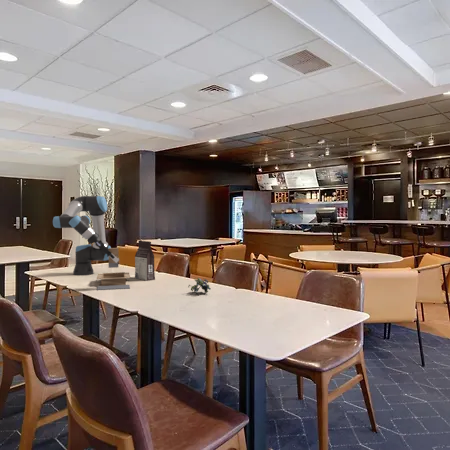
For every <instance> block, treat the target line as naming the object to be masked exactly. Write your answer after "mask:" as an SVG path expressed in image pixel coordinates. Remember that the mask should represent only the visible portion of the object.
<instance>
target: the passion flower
mask: <svg viewBox="0 0 450 450" xmlns="http://www.w3.org/2000/svg"><path fill="white" fill-rule="evenodd" d="M194 281H195V282H196V284H194V285H191V284H188V287H187V288H190V291H191V292H195V294H194V295H197V292H198V291H199V290H200V288H201V289H202V291H204V293H206V294H207V293H209V290H210V291H211V287H210V285H209V280H208V279H206V278H205V277H204V278H203V279H202V278H199V277H197V279H195V278H194ZM198 286H199V287H198Z"/></svg>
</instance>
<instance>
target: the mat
mask: <svg viewBox="0 0 450 450" xmlns="http://www.w3.org/2000/svg"><path fill="white" fill-rule="evenodd" d="M126 289H127V290H128V289H129V290H130V289H131V286H130V284H126V285H112V286H101V285H97V288H96V290H97V291H108V290H109V291H110V290H111V291H112V290H126Z"/></svg>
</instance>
